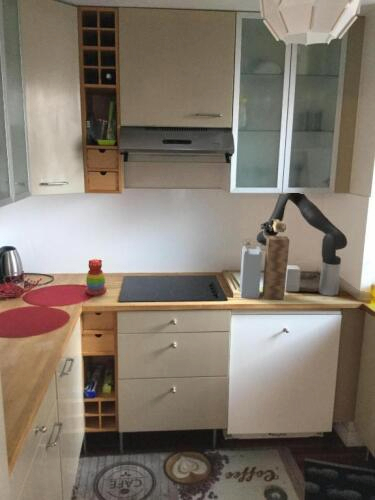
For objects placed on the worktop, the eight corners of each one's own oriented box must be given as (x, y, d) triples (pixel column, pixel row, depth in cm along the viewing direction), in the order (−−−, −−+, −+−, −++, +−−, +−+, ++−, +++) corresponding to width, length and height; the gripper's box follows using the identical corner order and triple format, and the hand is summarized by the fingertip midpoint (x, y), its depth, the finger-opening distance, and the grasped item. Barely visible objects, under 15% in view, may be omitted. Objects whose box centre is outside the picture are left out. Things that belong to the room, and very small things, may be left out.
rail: (278, 225, 226) (279, 217, 225) (284, 232, 211) (285, 223, 210) (270, 225, 226) (271, 217, 225) (275, 232, 211) (276, 223, 210)
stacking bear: (106, 287, 232) (105, 256, 227) (107, 295, 222) (106, 261, 217) (85, 289, 229) (84, 256, 224) (85, 296, 220) (84, 262, 215)
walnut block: (281, 295, 228) (286, 236, 219) (283, 300, 221) (289, 239, 212) (262, 294, 228) (266, 235, 219) (264, 299, 221) (269, 239, 212)
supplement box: (298, 291, 234) (301, 269, 230) (285, 291, 234) (287, 269, 230) (295, 286, 241) (298, 265, 237) (282, 286, 241) (284, 264, 238)
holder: (256, 291, 233) (259, 246, 226) (258, 298, 223) (262, 251, 216) (239, 290, 233) (242, 245, 226) (241, 297, 223) (244, 251, 217)
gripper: (257, 224, 238) (262, 214, 221) (283, 225, 238) (290, 215, 221) (257, 237, 236) (263, 228, 219) (283, 238, 236) (290, 229, 219)
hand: (276, 221), depth 220 cm, fingers closed on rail, 3 cm apart
